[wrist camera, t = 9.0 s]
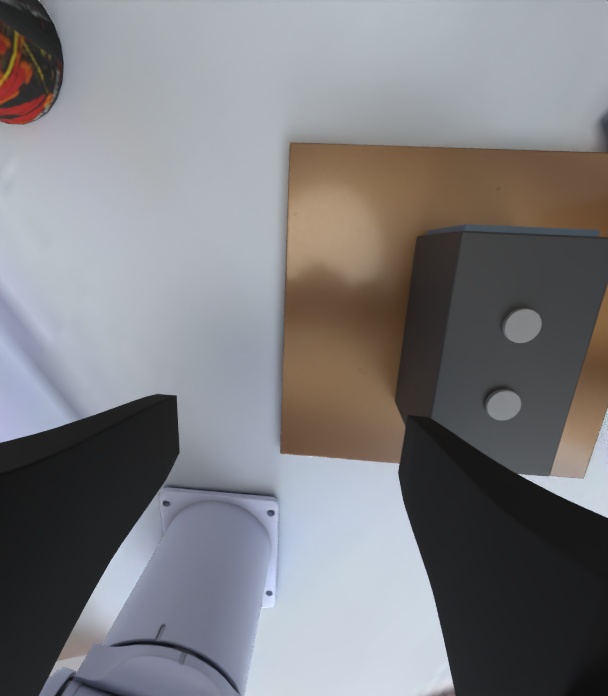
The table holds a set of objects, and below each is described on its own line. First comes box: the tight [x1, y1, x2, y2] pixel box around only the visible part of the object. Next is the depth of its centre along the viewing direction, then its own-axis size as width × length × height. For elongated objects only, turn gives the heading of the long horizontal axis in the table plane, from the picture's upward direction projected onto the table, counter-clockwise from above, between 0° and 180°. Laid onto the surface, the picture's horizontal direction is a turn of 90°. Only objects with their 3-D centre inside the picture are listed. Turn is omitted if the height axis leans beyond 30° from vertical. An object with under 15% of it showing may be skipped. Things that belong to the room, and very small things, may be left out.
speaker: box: [395, 224, 608, 476], centre depth 15 cm, size 9×5×6 cm, turn 177°
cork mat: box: [280, 142, 608, 479], centre depth 18 cm, size 17×18×1 cm
